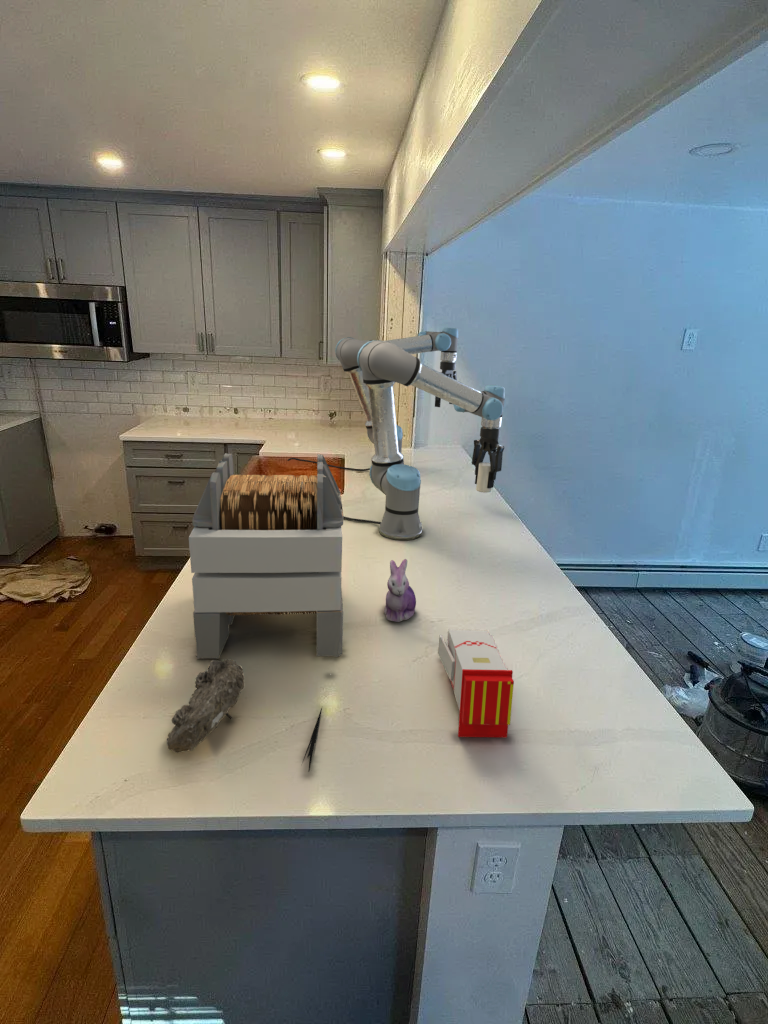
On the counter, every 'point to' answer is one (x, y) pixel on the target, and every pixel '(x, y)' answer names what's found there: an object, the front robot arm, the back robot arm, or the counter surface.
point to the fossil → (206, 705)
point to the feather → (313, 740)
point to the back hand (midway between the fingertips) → (444, 405)
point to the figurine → (399, 594)
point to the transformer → (267, 553)
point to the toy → (478, 682)
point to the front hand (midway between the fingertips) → (484, 485)
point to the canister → (483, 477)
